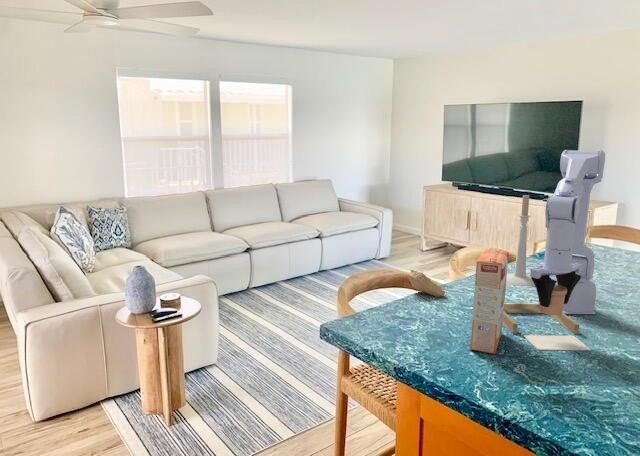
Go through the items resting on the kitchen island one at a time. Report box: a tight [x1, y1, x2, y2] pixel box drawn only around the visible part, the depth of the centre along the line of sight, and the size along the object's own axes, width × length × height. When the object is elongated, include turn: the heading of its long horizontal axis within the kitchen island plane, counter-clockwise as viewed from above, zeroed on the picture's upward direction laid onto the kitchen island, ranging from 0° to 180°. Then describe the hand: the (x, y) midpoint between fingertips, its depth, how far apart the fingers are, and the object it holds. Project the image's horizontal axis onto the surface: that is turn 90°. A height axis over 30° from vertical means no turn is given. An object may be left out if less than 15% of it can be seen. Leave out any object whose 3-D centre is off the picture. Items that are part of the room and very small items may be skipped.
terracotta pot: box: [539, 283, 567, 316], centre depth 114 cm, size 6×6×6 cm
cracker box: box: [469, 248, 510, 355], centre depth 112 cm, size 14×6×21 cm, turn 154°
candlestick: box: [506, 194, 535, 287], centre depth 159 cm, size 13×13×30 cm
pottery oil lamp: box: [407, 269, 446, 298], centre depth 149 cm, size 9×12×7 cm
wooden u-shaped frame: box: [502, 302, 580, 335], centre depth 126 cm, size 16×16×2 cm
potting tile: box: [523, 334, 592, 351], centre depth 113 cm, size 12×8×1 cm, turn 89°
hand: (553, 304), depth 114 cm, fingers closed on terracotta pot, 5 cm apart
